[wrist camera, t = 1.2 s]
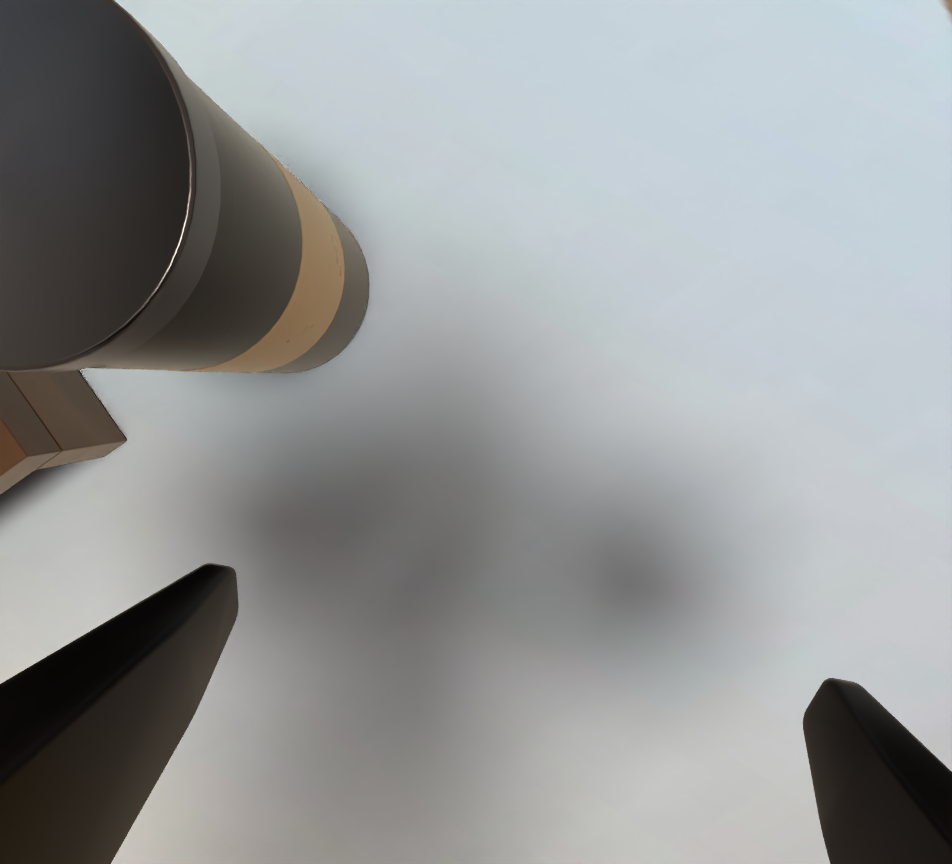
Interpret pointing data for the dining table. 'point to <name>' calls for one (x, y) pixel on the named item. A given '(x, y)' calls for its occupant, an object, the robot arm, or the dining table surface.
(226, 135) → the canister
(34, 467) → the drawer
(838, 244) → the dining table surface
